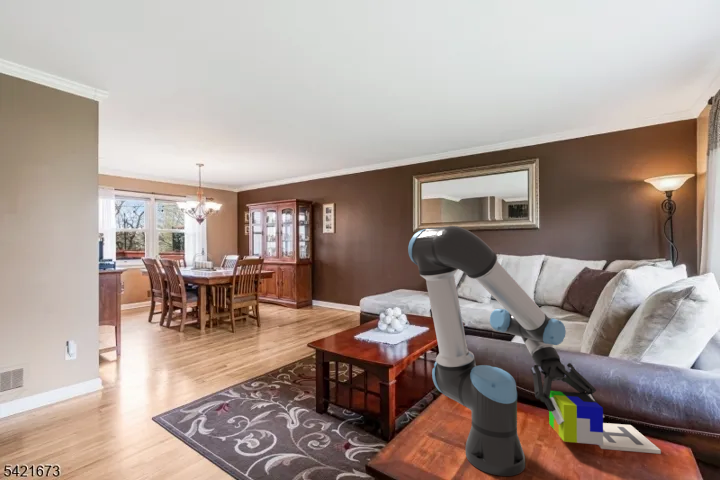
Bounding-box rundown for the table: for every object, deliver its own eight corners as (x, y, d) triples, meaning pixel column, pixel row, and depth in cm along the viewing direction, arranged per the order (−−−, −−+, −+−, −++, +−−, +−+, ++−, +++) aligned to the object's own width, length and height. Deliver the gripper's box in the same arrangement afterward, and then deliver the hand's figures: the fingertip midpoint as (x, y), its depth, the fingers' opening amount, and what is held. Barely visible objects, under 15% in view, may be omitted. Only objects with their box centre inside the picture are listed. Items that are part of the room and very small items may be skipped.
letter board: (601, 448, 98) (601, 444, 98) (579, 424, 112) (579, 420, 112) (660, 453, 96) (660, 449, 96) (630, 428, 109) (630, 424, 109)
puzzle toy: (603, 445, 94) (602, 407, 94) (563, 441, 95) (563, 404, 95) (584, 426, 104) (584, 393, 104) (549, 423, 105) (549, 390, 105)
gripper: (567, 355, 118) (608, 422, 102) (504, 359, 113) (537, 429, 97) (580, 344, 113) (625, 412, 97) (514, 347, 108) (551, 419, 92)
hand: (581, 421), depth 97 cm, fingers closed on puzzle toy, 12 cm apart
